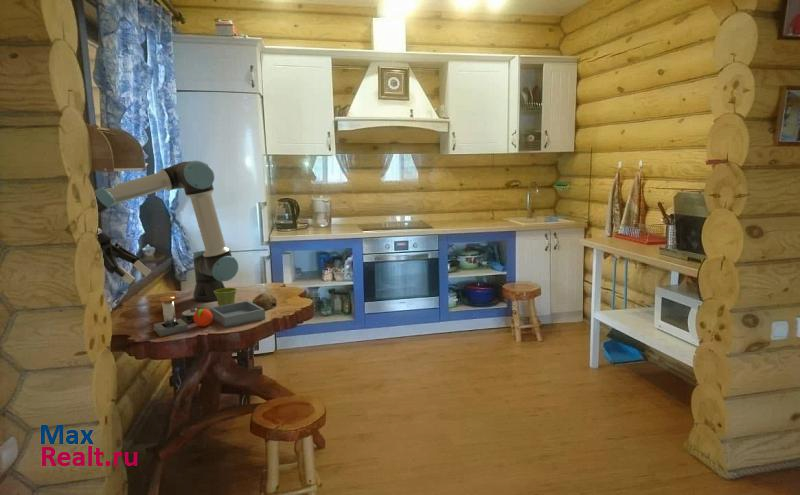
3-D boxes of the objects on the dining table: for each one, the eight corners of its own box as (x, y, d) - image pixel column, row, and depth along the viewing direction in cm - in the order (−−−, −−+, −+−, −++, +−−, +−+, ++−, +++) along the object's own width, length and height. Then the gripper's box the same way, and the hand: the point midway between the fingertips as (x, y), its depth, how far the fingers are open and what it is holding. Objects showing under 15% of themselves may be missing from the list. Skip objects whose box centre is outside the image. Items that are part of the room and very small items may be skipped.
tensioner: (149, 325, 192) (148, 314, 192) (202, 314, 205) (201, 304, 204) (160, 336, 178) (158, 325, 177) (216, 324, 190) (215, 313, 190)
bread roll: (266, 318, 209) (272, 302, 207) (246, 308, 210) (252, 292, 208) (276, 312, 218) (282, 296, 217) (257, 301, 220) (263, 286, 218)
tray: (210, 317, 201) (210, 307, 200) (248, 309, 210) (247, 300, 210) (225, 327, 187) (224, 317, 186) (265, 318, 196) (264, 309, 196)
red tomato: (209, 329, 185) (207, 311, 184) (190, 330, 184) (188, 312, 183) (215, 322, 193) (214, 305, 192) (197, 323, 192) (196, 306, 191)
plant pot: (213, 308, 213) (211, 289, 212) (235, 305, 218) (234, 286, 216) (217, 313, 205) (215, 294, 204) (240, 310, 210) (238, 290, 208)
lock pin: (162, 330, 185) (158, 297, 183) (176, 327, 188) (173, 294, 186) (165, 333, 181) (161, 300, 179) (180, 330, 184) (176, 297, 182)
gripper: (106, 241, 192) (148, 277, 195) (67, 251, 167) (117, 292, 171) (118, 227, 192) (161, 264, 195) (82, 235, 167) (131, 277, 170)
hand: (140, 277), depth 183 cm, fingers open, 13 cm apart
